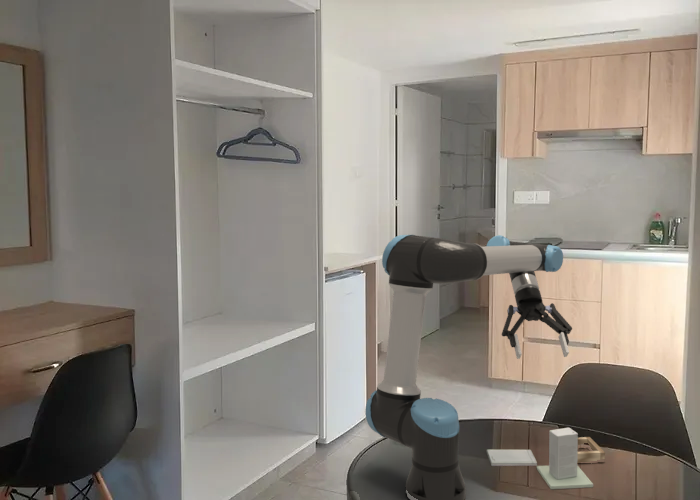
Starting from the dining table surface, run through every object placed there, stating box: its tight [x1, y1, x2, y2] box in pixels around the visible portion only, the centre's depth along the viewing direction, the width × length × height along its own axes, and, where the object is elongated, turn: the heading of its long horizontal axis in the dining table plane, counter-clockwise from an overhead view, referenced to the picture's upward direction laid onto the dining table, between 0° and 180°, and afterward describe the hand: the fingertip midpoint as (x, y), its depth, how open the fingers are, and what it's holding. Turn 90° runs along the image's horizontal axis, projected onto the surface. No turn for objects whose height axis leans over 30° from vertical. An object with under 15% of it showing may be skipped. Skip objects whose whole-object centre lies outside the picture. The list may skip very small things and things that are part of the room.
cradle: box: [577, 436, 606, 463], centre depth 185 cm, size 10×10×3 cm
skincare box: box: [548, 427, 579, 480], centre depth 172 cm, size 6×4×12 cm
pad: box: [536, 464, 594, 490], centre depth 173 cm, size 11×11×1 cm
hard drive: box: [486, 448, 538, 467], centre depth 185 cm, size 2×8×12 cm
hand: (543, 355), depth 187 cm, fingers open, 13 cm apart
